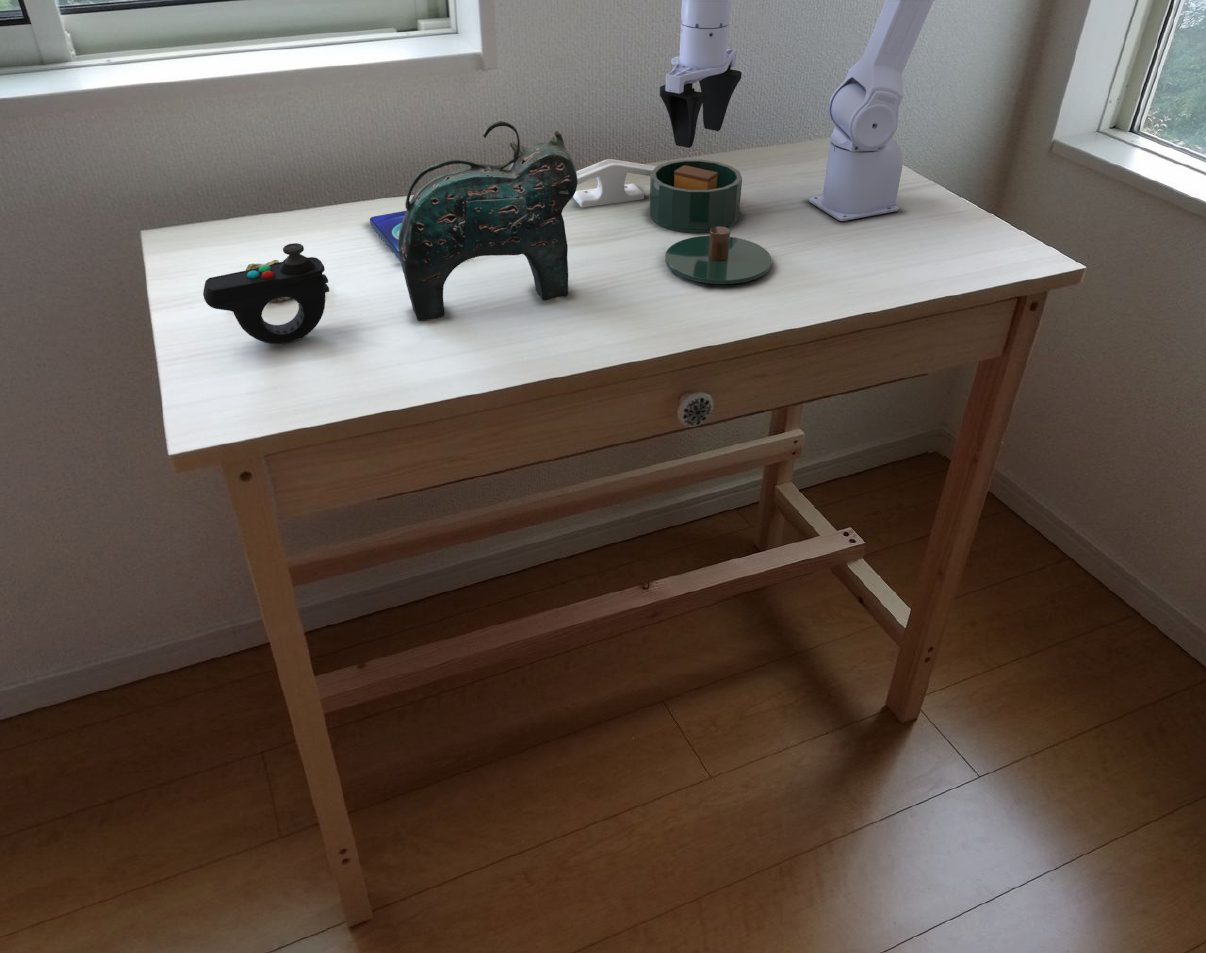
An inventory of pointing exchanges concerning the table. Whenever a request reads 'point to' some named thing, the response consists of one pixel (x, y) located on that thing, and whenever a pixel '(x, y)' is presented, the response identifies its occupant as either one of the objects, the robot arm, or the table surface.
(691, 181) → the brown block
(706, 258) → the lid
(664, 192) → the pot
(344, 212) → the table surface
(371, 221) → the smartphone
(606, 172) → the mooring cleat
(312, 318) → the controller
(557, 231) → the ceramic cat
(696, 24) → the robot arm
